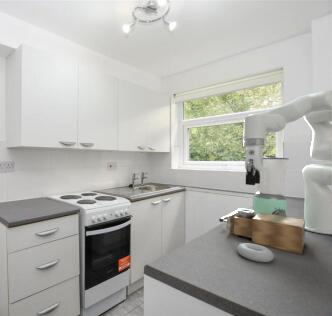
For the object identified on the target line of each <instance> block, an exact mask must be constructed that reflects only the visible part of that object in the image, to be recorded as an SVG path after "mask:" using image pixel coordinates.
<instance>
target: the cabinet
mask: <svg viewBox="0 0 332 316" xmlns="http://www.w3.org/2000/svg"><path fill="white" fill-rule="evenodd" d="M305 234H306V230H305V220H304V218H303V219H302V218H297V217H290V216H287V217H285V216H279V215H272V214H266V213H259V214H257V215H256V216H255V217H254V218H252V238H251V243H253V244H257V245H261V246H266V247H271V248H275V249H279V250H283V251H287V252H291V253H295V254H299V255H302V254H303V250H304V246H305V237H306V235H305Z"/></svg>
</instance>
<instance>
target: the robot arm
mask: <svg viewBox="0 0 332 316" xmlns="http://www.w3.org/2000/svg"><path fill="white" fill-rule="evenodd" d="M301 118H304V120H305V122H306V123H307V124H308V126H309V127H310V129H311V131H312V141H311V145H310V153H309V156H310V159H311V160H312V161H315V162H320V163H312V164H308V165H306V166H304V167H303V169H302V179H303V184H304V185H303V186H304V202H303V203H304V206H303V209H304V210H303V220H305V231H308V232H312V233H318V234H323V235H332V190H331V188H330V187H329V186H332V164H329V163H332V123H331V122H332V90H328V89H326V90H325V89H324V90H322V91H316V92H312V93H307V94H304V95H300V96H298V97H297V98H295V99H293V100H291V101H288V102H287V103H285V104H282V105H279V106H277V107H274V108H272V109H269V110H266V111H263V112H261V113H252V114H248V115H246V116H245V117H244V118H243V143H242V145H243V146H242V147H243V148H245V157H244V164H245V165H244V167H245V168H244V169H245V171H246V172H245V185H247V186H255V185H257V184H259V183H260V175H259V174H260V171H261V170H263V157H264V149H263V148H266V137H267V134H272V133H279V132H281V131H283V130H284V129H285V128H286V126H287V124H289V123H292V122H296V121H298V120H299V119H301Z"/></svg>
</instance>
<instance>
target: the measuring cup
mask: <svg viewBox="0 0 332 316" xmlns="http://www.w3.org/2000/svg"><path fill="white" fill-rule="evenodd" d="M237 211H238V217H239V218H245V219H250V220H252V218H254V217H255V211H253V209H248V208H237Z"/></svg>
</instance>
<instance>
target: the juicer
mask: <svg viewBox="0 0 332 316" xmlns="http://www.w3.org/2000/svg"><path fill="white" fill-rule="evenodd" d="M289 159H290V158H288V157H280V156H279V157H278V156H275V155H270V156H269V155H266V156H263V170H261V171H260V174H259V175H260V183H259V184H256V186H257V192H255V193H254V194H253V196H252V210H253V211H255V215H257V214H259V213H266V214H272V215H279V216H285V217H288V215H287V214H288V211H287V209H288V201H287V198H286V196H285V195H284V194H282V192H283V188H284V183H285V178H286V174H287V171H288V166H289Z"/></svg>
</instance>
